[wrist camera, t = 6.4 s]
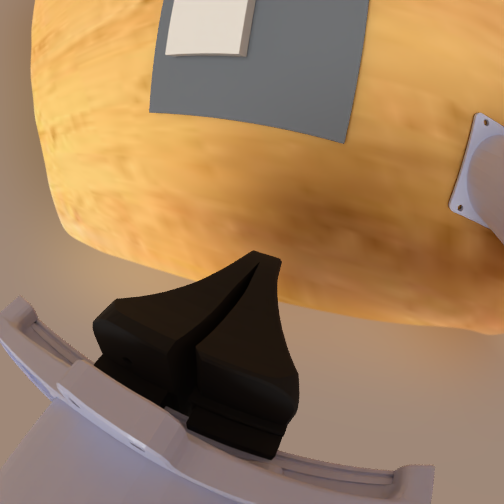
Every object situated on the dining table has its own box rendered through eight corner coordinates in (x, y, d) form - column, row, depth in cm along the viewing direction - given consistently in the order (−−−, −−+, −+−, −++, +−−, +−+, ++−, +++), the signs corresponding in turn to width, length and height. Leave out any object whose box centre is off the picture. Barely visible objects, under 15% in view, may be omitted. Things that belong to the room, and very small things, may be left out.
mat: (372, -40, 9) (372, -44, 8) (344, 142, 18) (344, 143, 17) (179, -41, 12) (174, -43, 11) (154, 111, 21) (149, 112, 20)
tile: (251, -18, 11) (176, -10, 13) (238, 53, 15) (165, 54, 16) (258, -11, 12) (186, -6, 14) (246, 57, 16) (176, 56, 17)
